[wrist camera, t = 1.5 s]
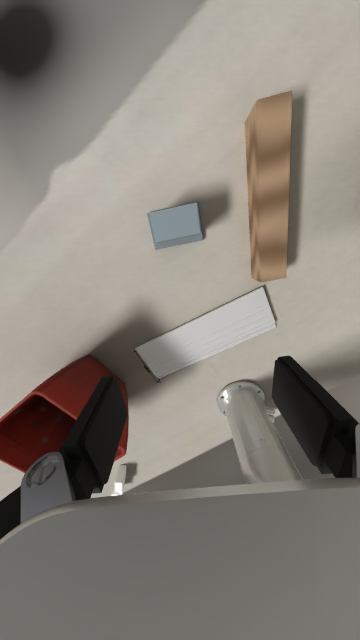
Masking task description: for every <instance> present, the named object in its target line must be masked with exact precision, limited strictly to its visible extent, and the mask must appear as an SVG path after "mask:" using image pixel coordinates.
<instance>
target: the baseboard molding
mask: <svg viewBox="0 0 360 640" xmlns="http://www.w3.org/2000/svg"><path fill="white" fill-rule="evenodd" d="M275 323H276V322H275V320H274V317H273V314H272V311H271V308H270V306H269V303H268V300H267V297H266V294H265V291H264V289H263V287H262V286H261V287H259V288H257V289H255V290H253V291H251V292H249V293H247V294H245V295H243V296H241V297H239V298H237V299H235V300H233V301H231V302H228V303H226V304H224V305H222V306H220V307H218V308H216V309H214V310H212V311H210V312H208V313H206V314H204V315H202V316H200V317H198V318H196V319H194V320H191V321H189V322H187V323H185V324H183V325H181V326H179V327H177V328H175V329H173V330H171V331H169V332H167V333H165V334H163V335H161V336H159V337H157V338H154V339H152V340H150V341H148V342H146V343H144V344H142V345H140V346H138V347H136V348H135V349H136V351H137V352H138V354H139V355H140V356H141V358H142V359H143V360H144V361H145V363H146V365H147V366H148V367H149V368H150V370H151V371H152V372H153V374H154V376H156V377H157V378H158V379H159V378H162V377H164V376H166V375H168V374H171V373H173V372H175V371H178V370H180V369H182V368H184V367H187V366H189V365H191V364H193V363H196V362H198V361H200V360H203V359H205V358H207V357H209V356H212V355H214V354H216V353H219V352H221V351H223V350H225V349H228V348H230V347H232V346H234V345H237V344H239V343H241V342H244V341H246V340H248V339H250V338H253V337H255V336H257V335H259V334H262V333H264V332H266V331H269V330H271V329H273V328H275V327H276V325H275ZM134 352H135V351H134ZM136 354H137V353H136ZM138 357H139V356H138ZM139 358H140V357H139ZM141 361H142V360H141ZM144 367H145V368H146V366H145V364H144ZM146 369H147V371H148V368H146ZM148 372H150V371H148ZM150 373H151V372H150ZM152 376H153V375H152ZM155 380H156V379H155ZM159 381H160V379H159ZM159 381H157V383H158V382H159Z"/></svg>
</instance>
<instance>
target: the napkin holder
mask: <svg viewBox="0 0 360 640" xmlns="http://www.w3.org/2000/svg"><path fill="white" fill-rule="evenodd" d="M126 467H127V465H119V469H118V473H117V476H116V478H115V482H114V485H113V489H112V493H111V496H117V495H122V493H123V488H124V484H125V479H126Z"/></svg>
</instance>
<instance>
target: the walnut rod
mask: <svg viewBox="0 0 360 640" xmlns="http://www.w3.org/2000/svg"><path fill="white" fill-rule="evenodd" d="M291 112H292V91H289V92H285V93H281V94H277V95H274V96H270V97H266V98H262V99H258V100H257V101H256V103H255V105H254V107H253V109H252V111H251V112H250V114H249V116H248V118H247V120H246V122H245V135H246V159H247V182H248V205H249V229H250V252H251V275H252V278H253V279H255V280H257V281H259V282H266V281H271V280H276V279H281V278H286V273H287V241H288V209H289V177H290V144H291Z"/></svg>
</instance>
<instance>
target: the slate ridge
mask: <svg viewBox="0 0 360 640" xmlns="http://www.w3.org/2000/svg"><path fill="white" fill-rule="evenodd" d="M147 215H148V219H149V223H150V228H151V232H152V236H153V241H154V245H155V250H157V249H161V248H166V247H171V246H176V245H181V244H185V243H190V242H195V241H200V240H203V236H202V228H201V220H200V213H199V205H198V202H196V203H191V204H187V205H182V206H178V207H173V208H169V209H164V210H160V211H155V212H151V213H147Z"/></svg>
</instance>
